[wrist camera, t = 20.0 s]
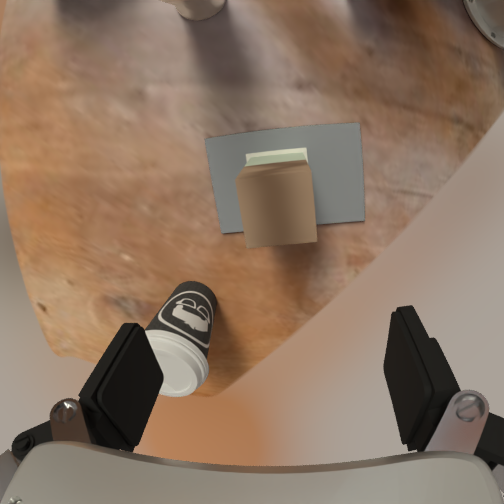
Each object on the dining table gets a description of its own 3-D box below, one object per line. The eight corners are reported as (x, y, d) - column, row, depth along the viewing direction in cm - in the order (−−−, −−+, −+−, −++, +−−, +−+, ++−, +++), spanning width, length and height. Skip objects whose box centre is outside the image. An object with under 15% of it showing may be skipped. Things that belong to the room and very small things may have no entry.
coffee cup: (155, 276, 44) (109, 343, 31) (216, 266, 42) (187, 340, 29) (176, 328, 48) (144, 399, 34) (234, 322, 46) (216, 401, 33)
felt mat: (358, 122, 33) (359, 122, 32) (363, 219, 37) (364, 220, 37) (205, 138, 35) (204, 139, 35) (222, 232, 40) (221, 233, 40)
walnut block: (305, 159, 29) (311, 171, 24) (311, 218, 31) (317, 241, 26) (244, 166, 30) (234, 179, 24) (253, 223, 32) (246, 248, 27)
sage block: (302, 152, 34) (306, 160, 29) (307, 201, 37) (311, 218, 31) (250, 157, 35) (244, 166, 30) (257, 206, 38) (252, 223, 32)
